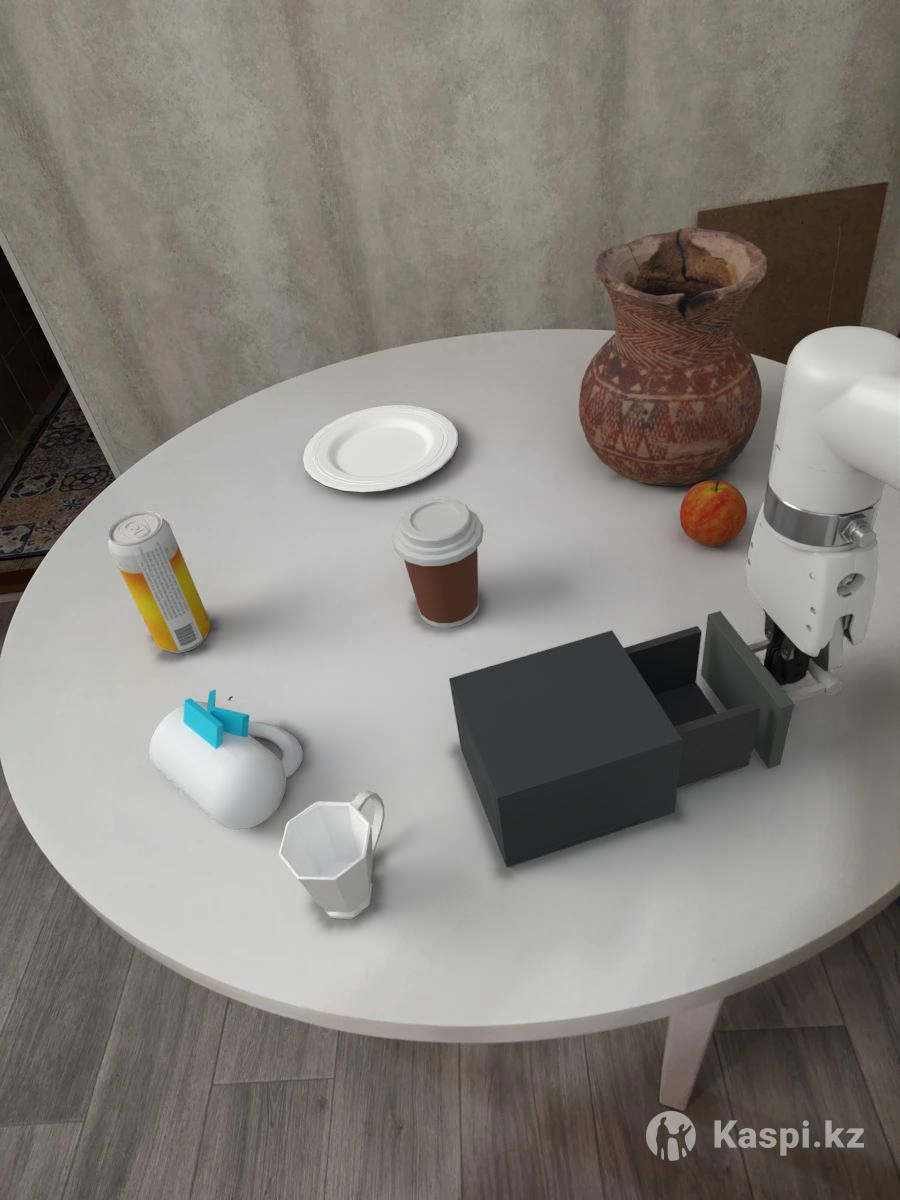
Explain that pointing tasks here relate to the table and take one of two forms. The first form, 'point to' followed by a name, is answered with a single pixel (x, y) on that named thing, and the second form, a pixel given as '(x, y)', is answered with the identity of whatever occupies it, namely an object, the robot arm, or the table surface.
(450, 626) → the coffee cup
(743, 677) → the grey drawer
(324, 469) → the plate
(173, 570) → the beer can
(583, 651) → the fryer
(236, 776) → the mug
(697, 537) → the fruit
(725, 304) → the jug
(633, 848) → the table surface
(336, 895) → the cup
